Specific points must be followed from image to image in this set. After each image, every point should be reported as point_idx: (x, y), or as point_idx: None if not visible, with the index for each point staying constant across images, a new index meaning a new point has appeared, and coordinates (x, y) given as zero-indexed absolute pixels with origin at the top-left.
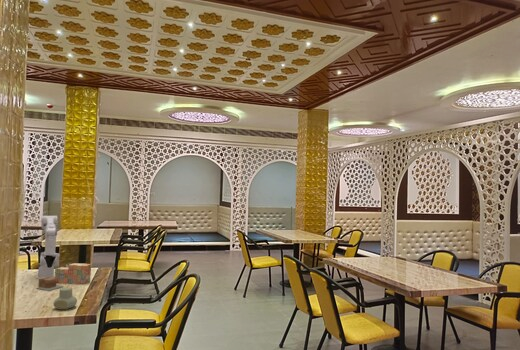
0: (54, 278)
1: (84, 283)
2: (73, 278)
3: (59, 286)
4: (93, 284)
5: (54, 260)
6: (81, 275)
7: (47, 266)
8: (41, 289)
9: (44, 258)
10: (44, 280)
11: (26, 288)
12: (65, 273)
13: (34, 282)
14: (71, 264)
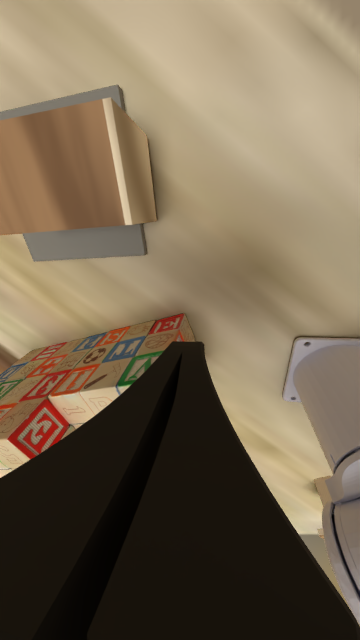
0: (8, 226)
1: (29, 352)
2: (62, 357)
3: (42, 243)
4: (8, 361)
5: (347, 555)
6: (6, 380)
7: (197, 348)
8: (58, 101)
9: (302, 570)
10: (25, 122)
11: (224, 23)
12: (87, 368)
13: (345, 255)
14: (17, 457)
